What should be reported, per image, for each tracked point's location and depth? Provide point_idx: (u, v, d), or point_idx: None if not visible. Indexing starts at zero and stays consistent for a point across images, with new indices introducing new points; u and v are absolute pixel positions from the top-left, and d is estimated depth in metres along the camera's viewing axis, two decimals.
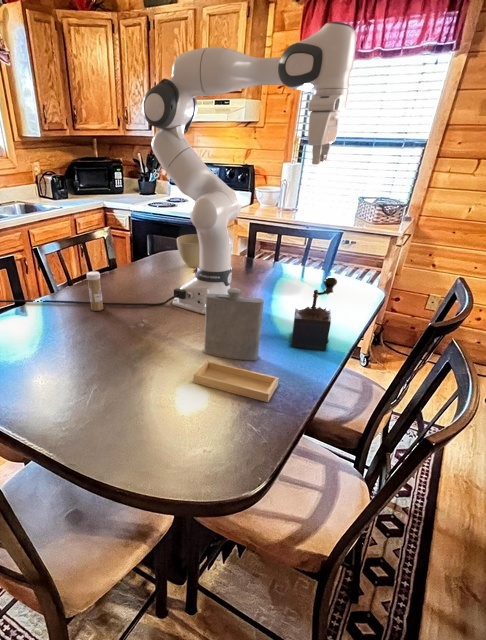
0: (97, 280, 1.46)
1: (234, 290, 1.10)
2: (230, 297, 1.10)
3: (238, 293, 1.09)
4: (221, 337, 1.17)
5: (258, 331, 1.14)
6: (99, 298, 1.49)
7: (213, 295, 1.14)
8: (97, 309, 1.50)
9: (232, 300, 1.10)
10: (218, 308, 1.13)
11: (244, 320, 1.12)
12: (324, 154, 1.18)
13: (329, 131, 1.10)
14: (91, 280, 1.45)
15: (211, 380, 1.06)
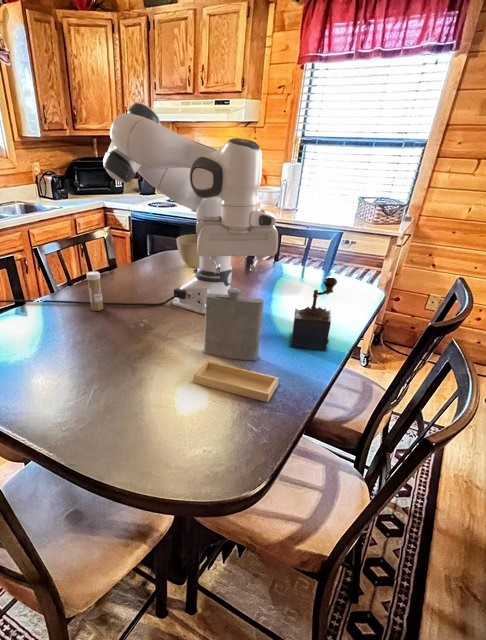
0: (97, 280, 1.46)
1: (234, 290, 1.10)
2: (230, 297, 1.10)
3: (238, 293, 1.09)
4: (221, 337, 1.17)
5: (258, 331, 1.14)
6: (99, 298, 1.49)
7: (213, 295, 1.14)
8: (97, 309, 1.50)
9: (232, 300, 1.10)
10: (218, 308, 1.13)
11: (244, 320, 1.12)
12: (218, 265, 1.07)
13: None
14: (91, 280, 1.45)
15: (211, 380, 1.06)
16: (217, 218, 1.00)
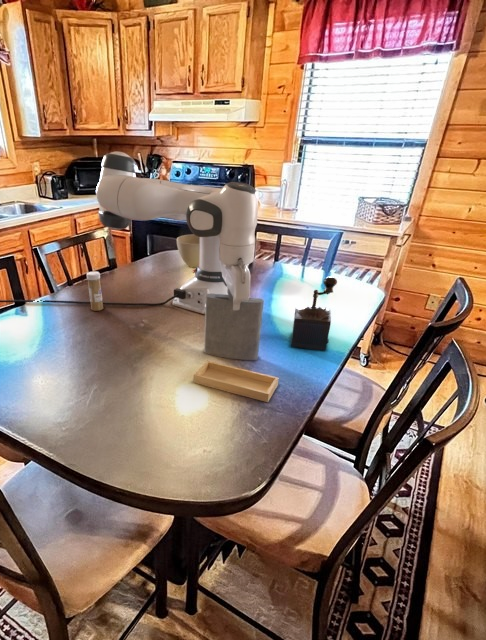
0: (97, 280, 1.46)
1: None
2: (230, 297, 1.10)
3: None
4: (221, 337, 1.17)
5: (258, 331, 1.14)
6: (99, 298, 1.49)
7: (213, 295, 1.14)
8: (97, 309, 1.50)
9: (232, 300, 1.10)
10: (218, 309, 1.13)
11: (244, 321, 1.12)
12: None
13: (227, 275, 1.10)
14: (91, 280, 1.45)
15: (211, 380, 1.06)
16: (242, 260, 1.01)
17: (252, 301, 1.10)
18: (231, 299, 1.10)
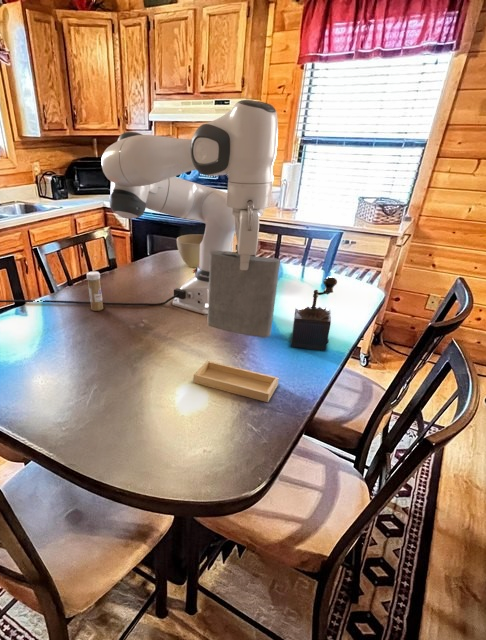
0: (97, 280, 1.46)
1: None
2: (238, 254, 0.89)
3: None
4: (226, 306, 0.96)
5: (271, 300, 0.91)
6: (99, 298, 1.49)
7: (219, 252, 0.93)
8: (97, 309, 1.50)
9: None
10: (224, 269, 0.92)
11: (254, 285, 0.90)
12: None
13: (237, 227, 0.89)
14: (91, 280, 1.45)
15: (211, 380, 1.06)
16: (252, 203, 0.80)
17: (265, 260, 0.88)
18: (239, 256, 0.89)
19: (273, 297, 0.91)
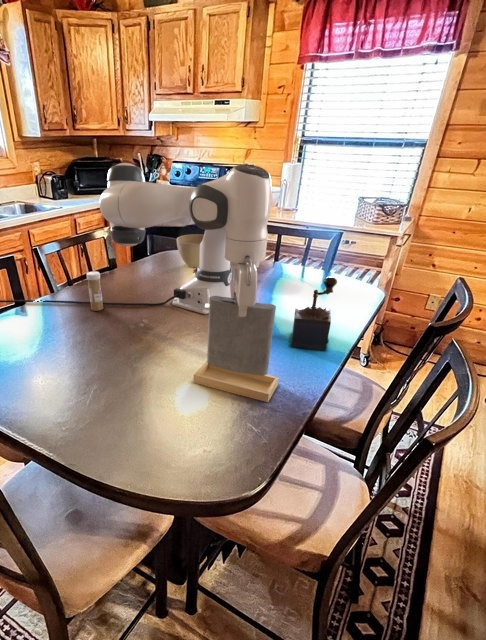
0: (97, 280, 1.46)
1: None
2: (236, 301, 0.94)
3: None
4: (225, 347, 1.02)
5: (268, 342, 0.97)
6: (99, 298, 1.49)
7: (218, 298, 0.98)
8: (97, 309, 1.50)
9: None
10: (222, 314, 0.98)
11: (251, 329, 0.96)
12: None
13: (234, 275, 0.95)
14: (91, 280, 1.45)
15: (211, 380, 1.06)
16: (250, 258, 0.85)
17: (262, 307, 0.94)
18: (237, 303, 0.95)
19: (270, 339, 0.97)
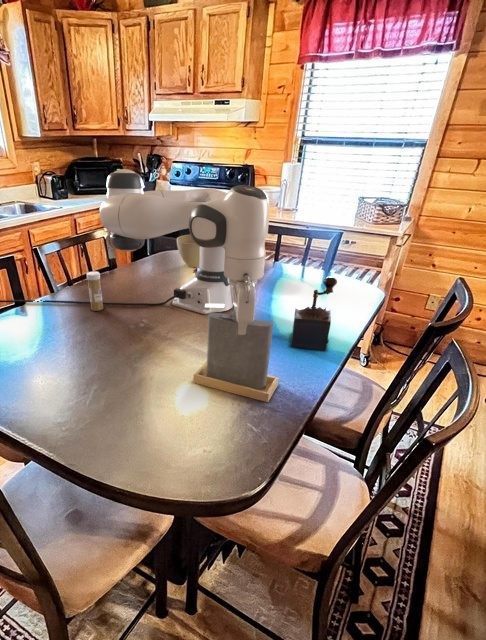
0: (97, 280, 1.46)
1: None
2: (235, 319, 0.97)
3: None
4: (224, 362, 1.04)
5: (266, 358, 1.00)
6: (99, 298, 1.49)
7: (217, 315, 1.01)
8: (97, 309, 1.50)
9: (237, 322, 0.97)
10: (221, 331, 1.00)
11: (250, 346, 0.99)
12: None
13: (233, 291, 0.97)
14: (91, 280, 1.45)
15: (211, 380, 1.06)
16: (248, 276, 0.87)
17: (260, 324, 0.96)
18: (236, 321, 0.97)
19: (268, 355, 0.99)
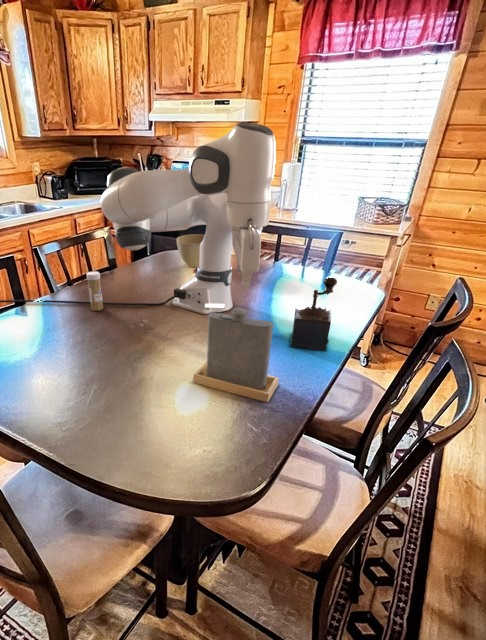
0: (97, 280, 1.46)
1: (240, 311, 0.96)
2: (235, 319, 0.97)
3: (244, 315, 0.96)
4: (224, 362, 1.04)
5: (266, 358, 1.00)
6: (99, 298, 1.49)
7: (217, 315, 1.01)
8: (97, 309, 1.50)
9: (237, 322, 0.97)
10: (221, 331, 1.00)
11: (250, 346, 0.99)
12: None
13: (236, 243, 0.91)
14: (91, 280, 1.45)
15: (211, 380, 1.06)
16: None
17: (260, 324, 0.96)
18: (236, 321, 0.97)
19: (268, 355, 0.99)
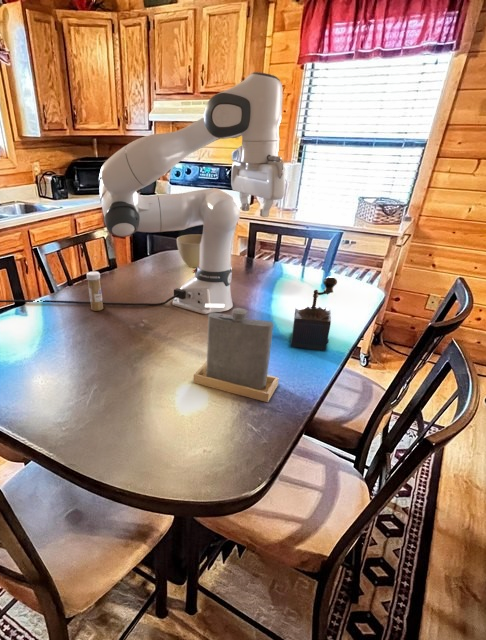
0: (97, 280, 1.46)
1: (240, 311, 0.96)
2: (235, 319, 0.97)
3: (244, 315, 0.96)
4: (224, 362, 1.04)
5: (266, 358, 1.00)
6: (99, 298, 1.49)
7: (217, 315, 1.01)
8: (97, 309, 1.50)
9: (237, 322, 0.97)
10: (221, 331, 1.00)
11: (250, 346, 0.99)
12: None
13: (246, 181, 1.07)
14: (91, 280, 1.45)
15: (211, 380, 1.06)
16: None
17: (260, 324, 0.96)
18: (236, 321, 0.97)
19: (268, 355, 0.99)
